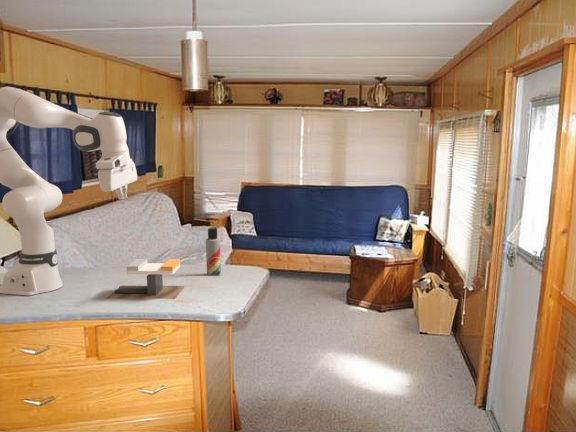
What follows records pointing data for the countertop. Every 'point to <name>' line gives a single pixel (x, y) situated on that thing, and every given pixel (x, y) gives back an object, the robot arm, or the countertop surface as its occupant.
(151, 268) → the block
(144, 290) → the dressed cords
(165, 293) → the mounting board
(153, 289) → the block
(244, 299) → the countertop surface
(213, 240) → the lotion bottle
